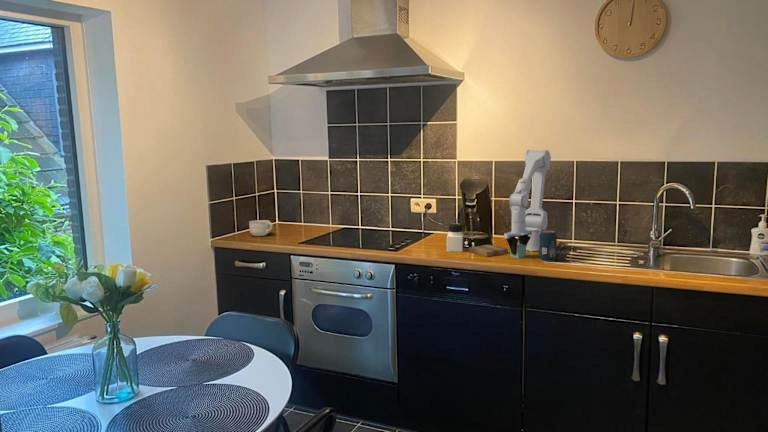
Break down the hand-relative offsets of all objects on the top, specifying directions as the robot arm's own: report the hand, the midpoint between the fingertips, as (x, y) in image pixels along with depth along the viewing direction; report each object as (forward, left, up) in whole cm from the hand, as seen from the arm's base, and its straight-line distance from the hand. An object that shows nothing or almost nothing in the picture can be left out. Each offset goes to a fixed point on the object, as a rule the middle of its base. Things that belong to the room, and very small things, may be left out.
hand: (518, 253), depth 255 cm
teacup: (+97, -95, -2) cm, 136 cm away
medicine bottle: (+19, -22, -2) cm, 29 cm away
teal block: (0, 0, -1) cm, 1 cm away
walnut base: (+8, -12, -1) cm, 15 cm away
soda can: (-8, +10, -2) cm, 13 cm away
